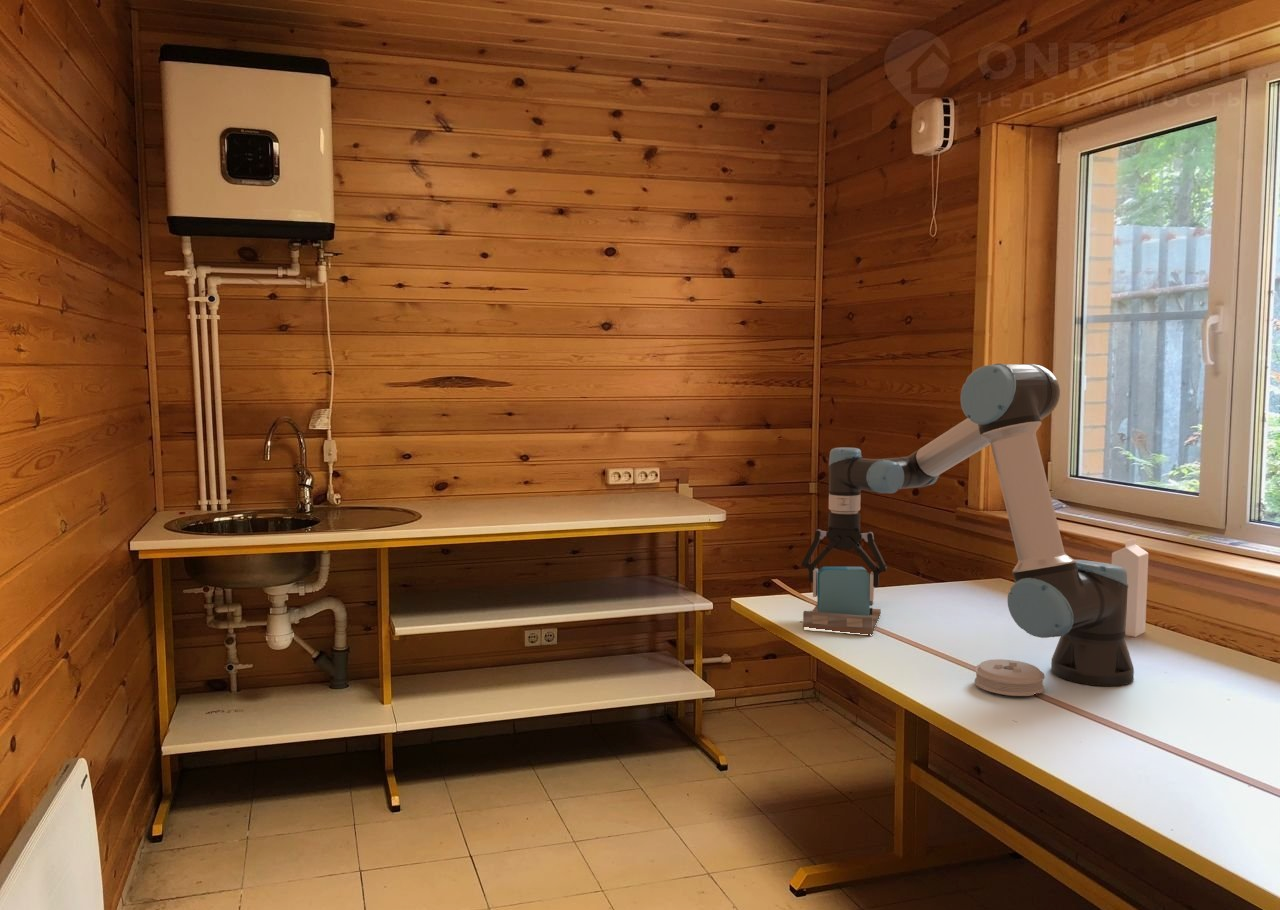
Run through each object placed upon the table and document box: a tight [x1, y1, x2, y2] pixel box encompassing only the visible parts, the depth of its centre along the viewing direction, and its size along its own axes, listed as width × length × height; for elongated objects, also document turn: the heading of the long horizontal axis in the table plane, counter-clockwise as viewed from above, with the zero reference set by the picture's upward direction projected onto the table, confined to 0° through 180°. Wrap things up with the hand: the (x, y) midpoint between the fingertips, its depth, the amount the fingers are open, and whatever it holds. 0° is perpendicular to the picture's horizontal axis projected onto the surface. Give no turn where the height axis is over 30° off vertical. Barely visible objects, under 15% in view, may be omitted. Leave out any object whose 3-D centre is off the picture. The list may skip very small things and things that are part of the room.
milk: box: [1111, 537, 1149, 638], centre depth 224 cm, size 6×6×22 cm
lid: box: [974, 658, 1046, 697], centre depth 187 cm, size 13×13×5 cm
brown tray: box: [802, 604, 882, 636], centre depth 235 cm, size 20×16×4 cm
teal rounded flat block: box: [816, 566, 871, 616], centre depth 234 cm, size 12×4×12 cm, turn 87°
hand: (843, 597), depth 234 cm, fingers open, 13 cm apart
